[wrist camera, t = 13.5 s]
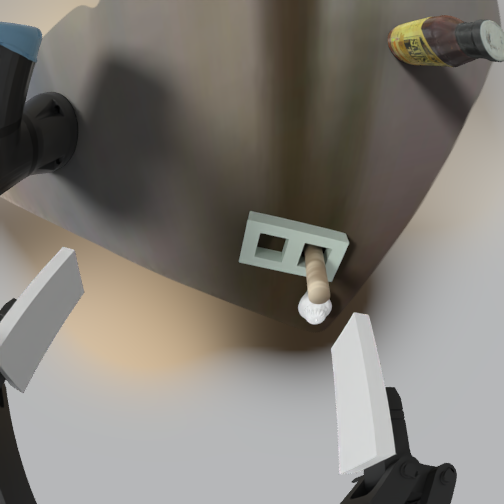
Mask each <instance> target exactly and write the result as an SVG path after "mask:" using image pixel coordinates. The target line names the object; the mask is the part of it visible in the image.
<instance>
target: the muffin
mask: <svg viewBox="0 0 504 504" xmlns="http://www.w3.org/2000/svg"><path fill="white" fill-rule="evenodd" d="M331 309H332V304H331V301H330V299H329V300H328V301H327V302H325V303H323V304H314V303H312V302H310V301H309V298H308V291H307V292H306V293H305V294H304V296H303V297H302V298H301V300H300V302H299V305H298V310H299V313H300V315H301V316H302V317H303V318H305V319H306V320H307V321H308V322H309V323H311V324H318V323H319V324H320V323H321V322H323V320H325V317H326V316H327V315H328V314H329V313H330V311H331Z"/></svg>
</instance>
